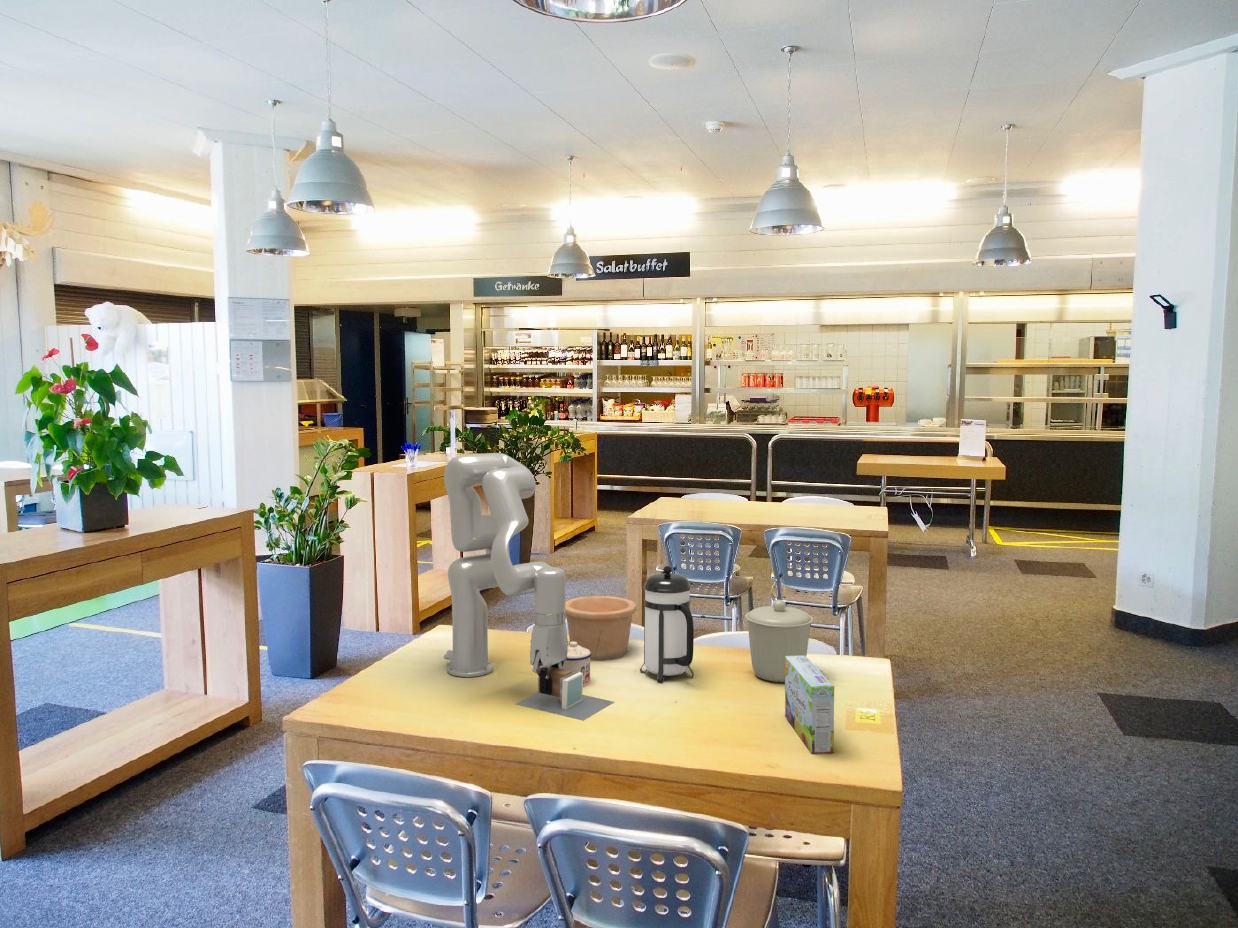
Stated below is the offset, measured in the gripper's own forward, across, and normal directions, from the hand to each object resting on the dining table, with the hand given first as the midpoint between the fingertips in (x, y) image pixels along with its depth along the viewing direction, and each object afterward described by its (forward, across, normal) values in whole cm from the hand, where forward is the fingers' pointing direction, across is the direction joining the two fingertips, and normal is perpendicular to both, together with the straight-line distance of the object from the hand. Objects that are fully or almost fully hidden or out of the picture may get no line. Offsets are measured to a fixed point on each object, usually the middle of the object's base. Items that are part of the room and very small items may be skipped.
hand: (550, 690), depth 212 cm
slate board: (+3, 0, +4) cm, 6 cm away
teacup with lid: (+4, -15, -3) cm, 16 cm away
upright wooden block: (0, 0, +2) cm, 2 cm away
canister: (+3, -49, +40) cm, 64 cm away
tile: (+2, 0, +6) cm, 7 cm away
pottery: (+4, -42, -13) cm, 44 cm away
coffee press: (+3, -34, +15) cm, 37 cm away
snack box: (+4, -15, +60) cm, 62 cm away
